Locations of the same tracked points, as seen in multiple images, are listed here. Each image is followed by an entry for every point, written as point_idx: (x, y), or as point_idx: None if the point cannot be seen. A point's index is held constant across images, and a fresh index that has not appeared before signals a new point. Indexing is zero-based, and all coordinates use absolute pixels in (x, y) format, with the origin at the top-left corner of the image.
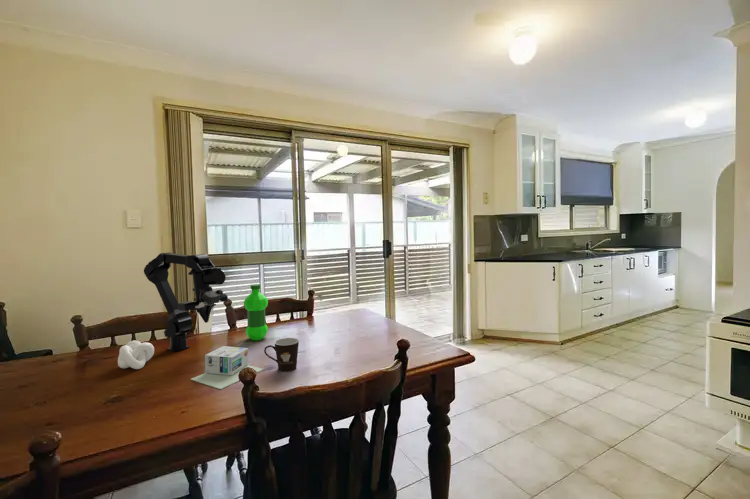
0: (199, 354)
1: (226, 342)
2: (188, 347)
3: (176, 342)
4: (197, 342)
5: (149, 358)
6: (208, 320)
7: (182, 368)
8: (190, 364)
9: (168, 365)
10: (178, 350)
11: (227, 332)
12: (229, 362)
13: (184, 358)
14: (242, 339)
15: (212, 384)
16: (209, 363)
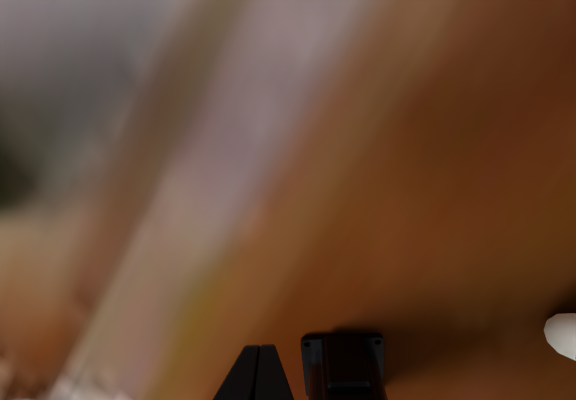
0: (336, 202)
1: (128, 258)
2: (310, 336)
3: (375, 384)
4: None
5: (568, 313)
6: (234, 363)
7: (560, 49)
8: (483, 77)
9: (546, 180)
10: (367, 335)
11: (60, 382)
12: None
13: (423, 211)
14: (34, 229)
15: None
16: None
